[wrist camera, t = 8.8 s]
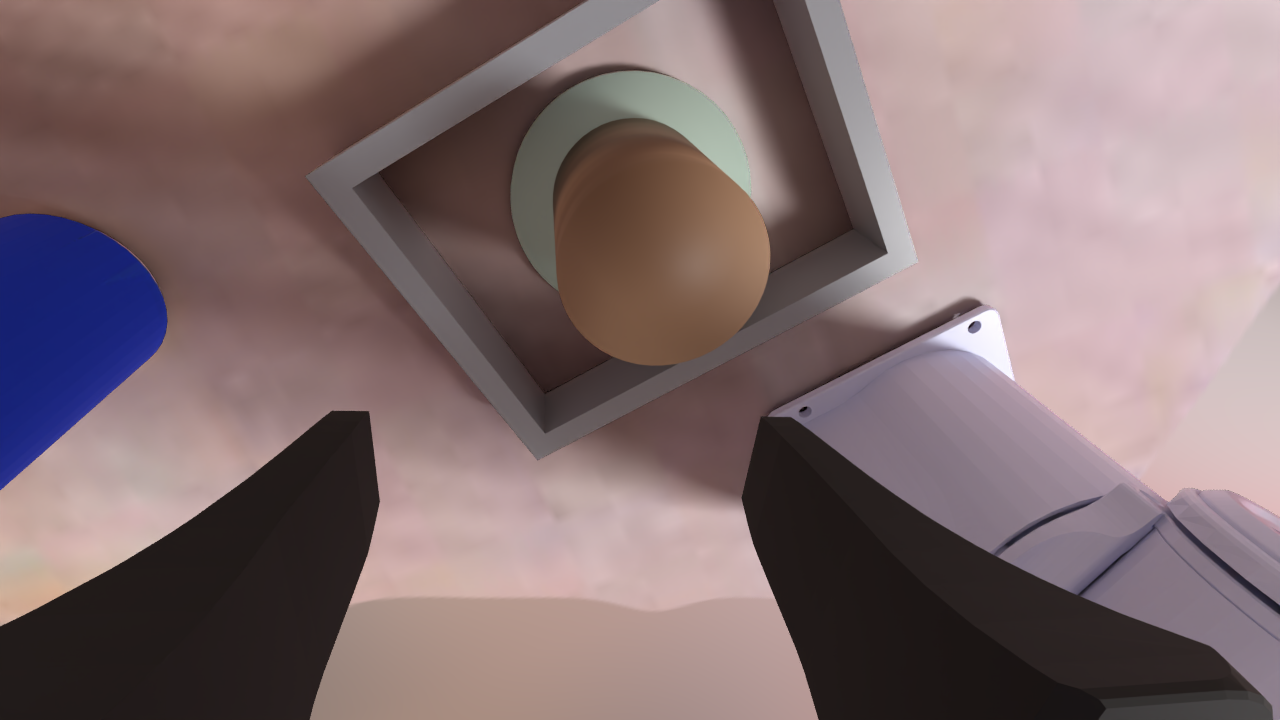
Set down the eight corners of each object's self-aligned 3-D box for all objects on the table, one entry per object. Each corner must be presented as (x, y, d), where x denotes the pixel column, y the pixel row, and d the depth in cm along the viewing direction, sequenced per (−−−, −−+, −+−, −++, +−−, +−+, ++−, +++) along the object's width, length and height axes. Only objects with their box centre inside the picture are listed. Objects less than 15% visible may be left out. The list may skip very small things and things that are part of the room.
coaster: (588, 345, 22) (589, 350, 22) (460, 153, 19) (459, 156, 18) (781, 241, 21) (785, 245, 21) (686, 17, 18) (689, 17, 17)
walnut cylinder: (605, 303, 21) (625, 398, 16) (520, 174, 19) (512, 238, 14) (735, 227, 21) (801, 301, 15) (665, 84, 18) (714, 114, 13)
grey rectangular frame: (537, 419, 24) (537, 460, 21) (333, 156, 18) (304, 176, 16) (881, 236, 22) (918, 262, 20) (766, -113, 16) (799, -132, 14)
